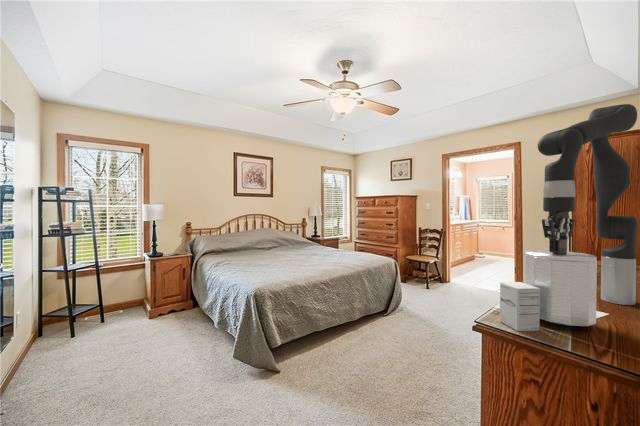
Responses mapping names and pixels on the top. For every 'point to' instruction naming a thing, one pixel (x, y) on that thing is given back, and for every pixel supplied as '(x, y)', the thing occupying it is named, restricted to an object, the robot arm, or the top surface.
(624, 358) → the top surface
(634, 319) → the top surface
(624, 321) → the top surface
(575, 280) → the cover
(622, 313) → the top surface
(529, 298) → the supplement box
